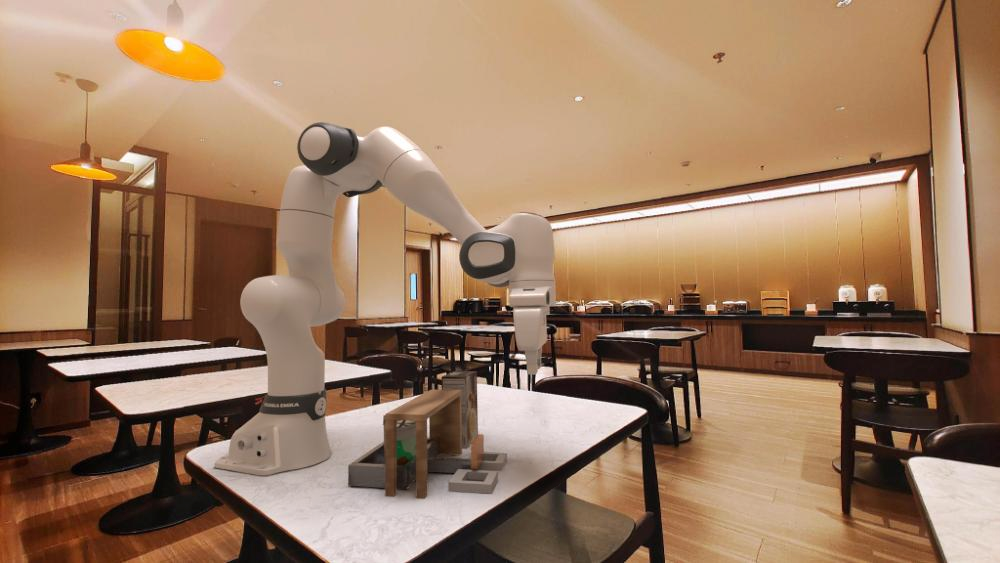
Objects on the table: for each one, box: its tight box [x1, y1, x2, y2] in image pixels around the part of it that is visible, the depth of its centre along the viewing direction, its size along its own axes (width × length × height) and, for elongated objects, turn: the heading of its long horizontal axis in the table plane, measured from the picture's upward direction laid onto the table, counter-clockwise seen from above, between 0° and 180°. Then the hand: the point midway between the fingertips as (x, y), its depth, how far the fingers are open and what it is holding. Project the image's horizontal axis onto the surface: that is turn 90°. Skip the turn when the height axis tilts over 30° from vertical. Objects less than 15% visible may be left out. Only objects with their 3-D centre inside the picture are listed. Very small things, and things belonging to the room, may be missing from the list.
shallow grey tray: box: [347, 433, 485, 490], centre depth 80 cm, size 22×18×6 cm
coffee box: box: [441, 370, 479, 449], centre depth 99 cm, size 9×6×16 cm
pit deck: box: [447, 451, 508, 495], centre depth 78 cm, size 8×16×2 cm, turn 170°
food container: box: [382, 414, 416, 465], centre depth 80 cm, size 12×6×10 cm, turn 27°
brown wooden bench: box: [384, 389, 463, 499], centre depth 80 cm, size 7×22×14 cm, turn 169°
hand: (534, 371), depth 77 cm, fingers open, 6 cm apart
